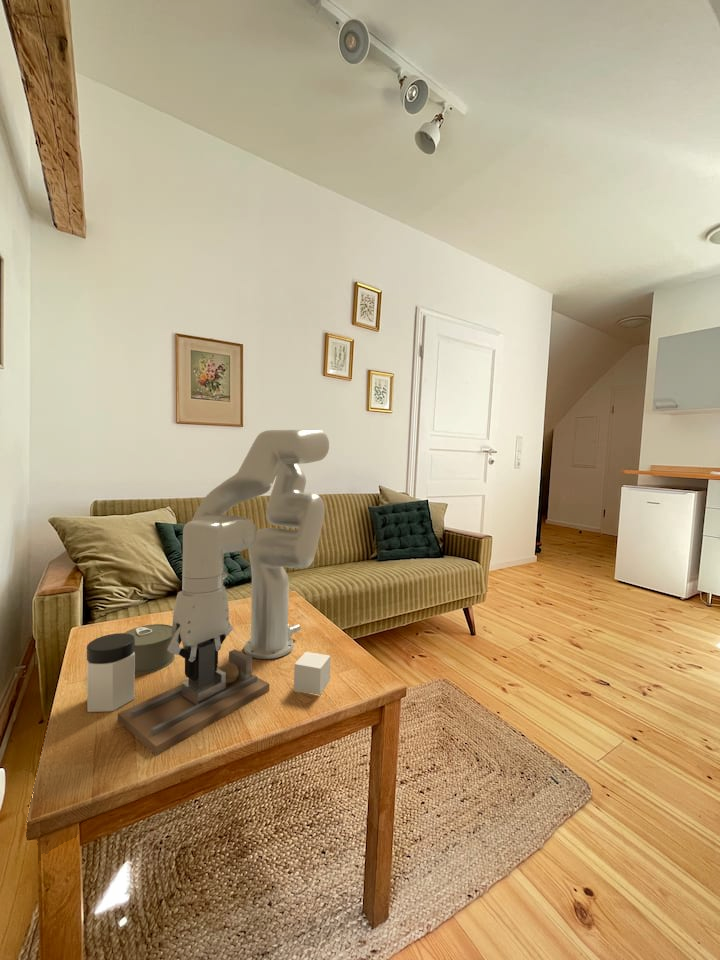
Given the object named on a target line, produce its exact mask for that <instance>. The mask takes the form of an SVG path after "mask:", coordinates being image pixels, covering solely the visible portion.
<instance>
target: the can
mask: <svg viewBox="0 0 720 960" xmlns="http://www.w3.org/2000/svg"><path fill="white" fill-rule="evenodd" d="M124 633H126V634H131V635H133V636H134V638H135V650H134V653H135V676H136V675H146V674H149V673H154V672H155V673H156V671H160V670H162V669H164V668H166V667H168V666H169V665H171V664H172V663H173V662H174V660H175V654H172V653H170V652H168V651H167V649H168V647H169V645H170V643H171V641H172V625H169V624H160V623H159V624H158V623H157V624H156V623H155V624H147V625H142V626H137V627H134V628H131V629H129V630H127V631H125V632H124Z"/></svg>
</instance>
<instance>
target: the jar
mask: <svg viewBox="0 0 720 960" xmlns="http://www.w3.org/2000/svg"><path fill="white" fill-rule="evenodd" d="M134 650H135V638H134V636H133V635H131V634H126V633H125V632H123V633H122V632H120V633H118V632H117V633H112V634H106V635H102V636H99V637H96V638H95V639H93V640H91V641H90V642H89V643H88V644H87V645H86V665H87V666H86V705H87V706H86V707H87V708H86V709H87V713H100V712H102V713H103V712H105V713H106V712H114V711H115V710H117V709H119V708H121V707H122V706H124V705H126V704H128V703H129V702H131V701H133V700H135V697H136V696H135V688H136V687H135V685H136V684H135V683H136V680H135V677H136V675H135V653H134Z"/></svg>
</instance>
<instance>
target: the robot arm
mask: <svg viewBox="0 0 720 960" xmlns="http://www.w3.org/2000/svg"><path fill="white" fill-rule="evenodd" d="M329 449H330V441H329V437H328V435H327V434H326V433H325V432H324V431H323V430H321V429H270V430H264V431H262V432H260V433H259V434H257V436H256V438H255V439H254V441H253V443H252V445H251V447H250V448H249V450H248V452H247V454H246V456H245V458H244V460H243V461H242V463H241V466H240V467H239V469H238V471H237V472H236V473H235V474H234V475H232V476H231V477H229V478H228V479H226V480H224V481H223V482H222V483H220V484H219V485H218V486H216V487H215V488H213V489H212V490H211V491H210V492H208V494H207V495H206V496H205V497H204V498H203V500H202V501H201V503H200V504H199V506H198V508H197V509H196V511H195V513H194V515H193V517H192V519H191V520H190V521H188V522H186V523H185V525H183V528H182V571H181V572H182V581H181V582H182V583H181V586H182V587H181V589H182V590H180V591H178V592H177V595H176V599H175V602H174V607H173V614H172V625H171V626H172V641H171V643H170V645H169V647H168V649H167V651H168V652H170V653H172V654H174V655H176V656H180V657H182V658H183V659H184V675H185V676H186V677H187V678H188V679H189V678H190V679H191V680H193V681H196V680H197V679H198V660H196V659H195V657H196V651H197V644H199V643H202V642H205V641H207V640H211V641H213V642H215V671H217V668H218V664H219V651H221V649H222V644H223V643H224V642H225V640H226V638H227V637H228V636H229V634H231V632H233V630H234V628H233V626H232V623H230V615H229V614H230V610H229V609H230V608H229V599H228V592H227V589H226V586H225V585H224V580H226V579H227V578H228V572H226V571H224V556H225V554H228V553H238V552H239V553H241V552H244V551H246V550H248V555H249V561H250V562H249V563H250V570H251V595H250V596H251V600H250V601H251V604H250V606H251V607H250V608H251V609H250V639H248V640H247V641H246V642H245V644H244V649H243V650H244V651H243V652H244V654H246V655H248V656H250V657H252V659H253V658H254V659H261V660H270V659H271V660H272V659H277V658H281V657H283V656H286V655H287V654H289V653H290V652H291V651H292V650H293V649H294V640H293V639H292V638H291V636H293V634H295V633H297V632H300V630H301V625H300V624H298V623H296V624H295V625H292V626H291V625H290V624H289V594H290V592H289V590H290V580H289V576H288V573H287V571H286V569H285V568H289V569H300V570H301V569H306V568H308V567H310V566H311V565H312V563H313V562H314V559H315V556H316V554H317V553H316V552H317V549H318V545H319V541H320V536H321V533H322V529H323V524H324V520H325V513H326V512H325V511H326V510H325V508H326V507H325V503H324V500H323V498H322V497H321V496H320V495H318V494H316V493H311V492H305V489H306V483H307V478H306V475H305V472H304V471H303V469H302V468H301V466H300V465H301V464H311V463H315V462H319V461H322V460H323V459H325V458H326V457H327V454H328V453H329ZM273 483H274V485H273ZM272 485H273V487H272ZM271 488H272V490H271ZM270 490H271V493H270V496H269V499H268V502H267V507H266V509H265V511H266V512H265V518H266V520H267V521H268V523H270V524H271V525H273V526H277V528H276V527H263V528H260V529H257V527H256V525H255V523H254V522H253V520H251V519H249V518H248V517H245V516H239V515H237V516H236V515H229V514H227V515H226V513H227V512H228V511H229V510H230V509H231V508H233V507H235V506H237V505H238V504H240V503H243V502H246V501H248V500H252V499H254V498H258V497H259V496H262V495H264V494H266V493H268V492H269V491H270ZM278 527H285V528H278ZM287 528H296V529H287ZM297 529H298V530H297ZM181 643H182V644H181ZM180 645H182V647H181V646H180Z"/></svg>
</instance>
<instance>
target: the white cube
mask: <svg viewBox="0 0 720 960" xmlns="http://www.w3.org/2000/svg"><path fill="white" fill-rule="evenodd" d="M331 657H332V656H331V655H328V654H322V653H316V652H311V651H310V652H309V651H305V652H304V653H303V654H302V655H301V656H300V657H299V658H298V659H297V660H296V662H294V667H293V668H294V673H293V674H294V675H293V692H296V691H299V692H298V693H301V692H305V693H304V694H306V693H313V694H318V695H320V694H321V692H322V691H323V689H324V688H325V687H326V685H327V684H328V682H329V681H330V682H331ZM330 682H329V683H330ZM328 685H329V684H328ZM328 685H327V686H328ZM326 688H327V687H326ZM326 688H325V689H326ZM323 692H324V691H323ZM321 695H322V694H321Z"/></svg>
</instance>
